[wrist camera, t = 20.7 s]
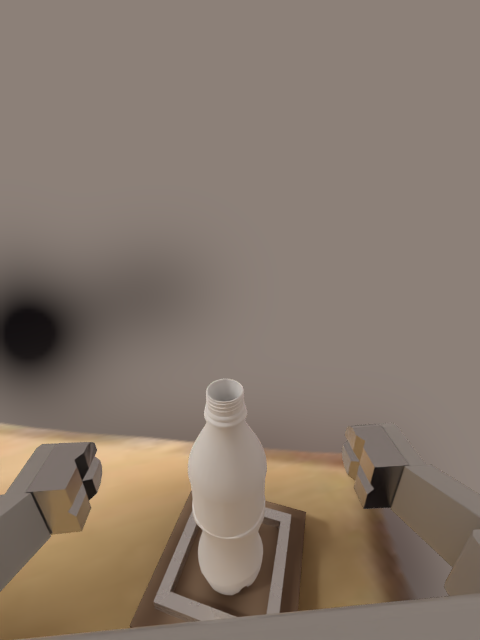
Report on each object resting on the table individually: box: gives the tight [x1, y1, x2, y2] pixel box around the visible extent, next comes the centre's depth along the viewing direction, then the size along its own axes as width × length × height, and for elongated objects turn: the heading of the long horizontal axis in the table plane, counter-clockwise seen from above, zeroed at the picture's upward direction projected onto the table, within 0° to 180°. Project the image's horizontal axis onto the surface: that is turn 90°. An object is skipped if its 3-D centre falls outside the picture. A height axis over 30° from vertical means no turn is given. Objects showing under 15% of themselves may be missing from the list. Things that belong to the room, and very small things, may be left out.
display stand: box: [130, 490, 306, 628], centre depth 34 cm, size 16×16×4 cm
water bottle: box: [188, 379, 267, 595], centre depth 28 cm, size 7×7×25 cm
